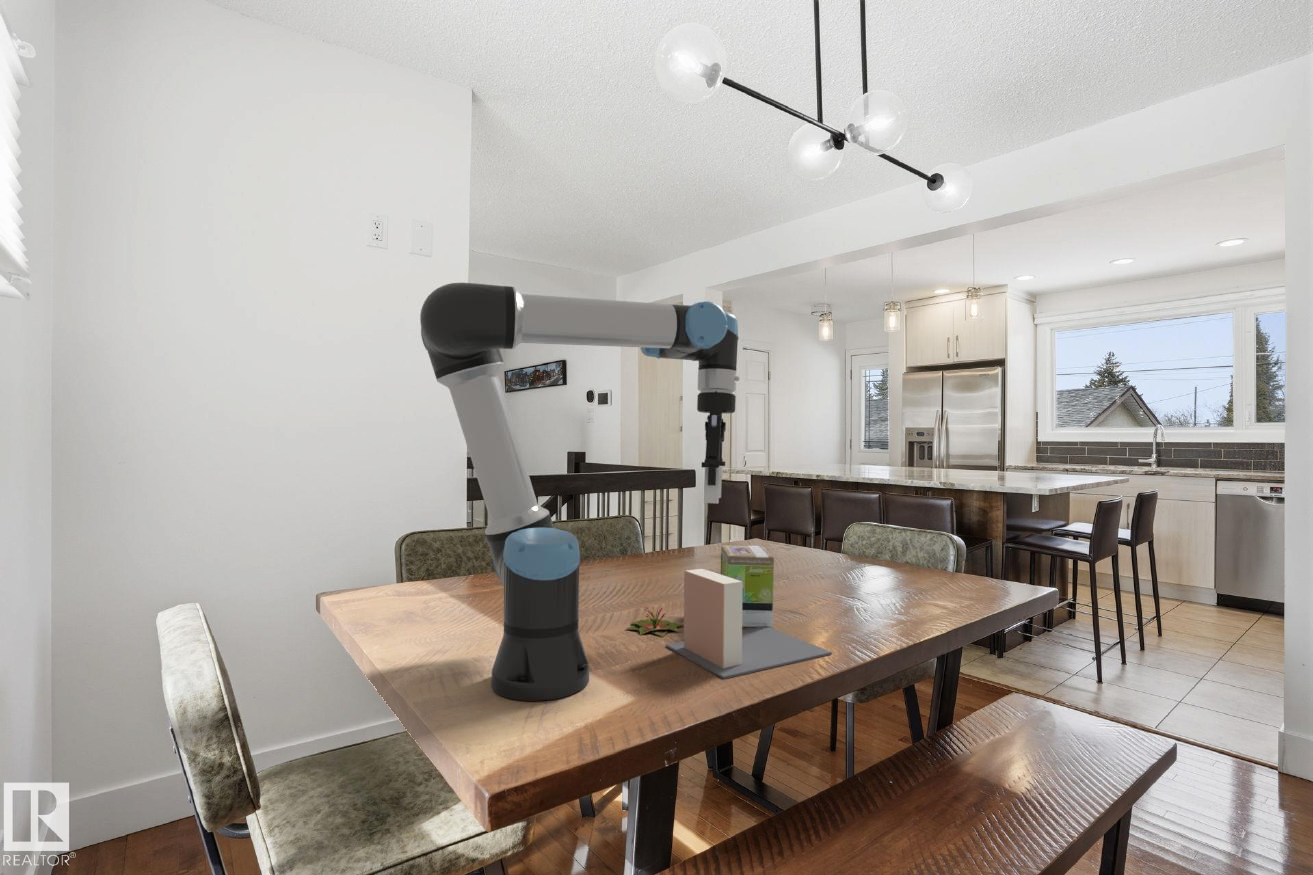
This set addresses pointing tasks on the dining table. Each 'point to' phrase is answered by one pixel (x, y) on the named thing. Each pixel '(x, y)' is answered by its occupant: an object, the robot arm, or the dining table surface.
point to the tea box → (751, 581)
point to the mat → (759, 652)
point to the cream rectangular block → (713, 617)
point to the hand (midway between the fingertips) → (712, 500)
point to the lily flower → (654, 624)
